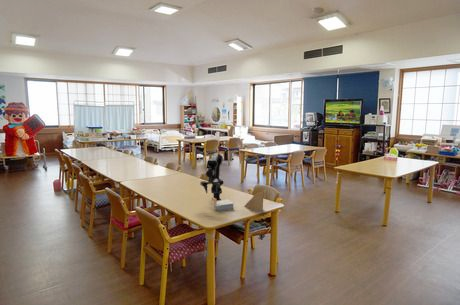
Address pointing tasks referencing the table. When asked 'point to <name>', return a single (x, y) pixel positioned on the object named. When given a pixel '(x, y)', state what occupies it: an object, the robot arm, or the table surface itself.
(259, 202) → the sandwich container
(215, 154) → the robot arm
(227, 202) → the lid
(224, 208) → the tub
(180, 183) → the table surface
